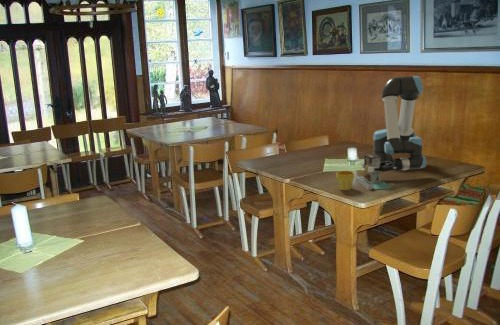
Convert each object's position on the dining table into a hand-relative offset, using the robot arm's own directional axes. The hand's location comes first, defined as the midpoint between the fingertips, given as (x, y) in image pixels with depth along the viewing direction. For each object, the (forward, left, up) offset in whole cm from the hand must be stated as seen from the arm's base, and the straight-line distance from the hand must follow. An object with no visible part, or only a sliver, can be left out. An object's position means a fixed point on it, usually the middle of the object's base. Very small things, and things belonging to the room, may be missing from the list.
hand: (365, 167), depth 304 cm
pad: (-4, +11, -9) cm, 15 cm away
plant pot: (+16, +9, -9) cm, 20 cm away
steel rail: (+3, +6, -9) cm, 11 cm away
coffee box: (-4, 0, -9) cm, 10 cm away
